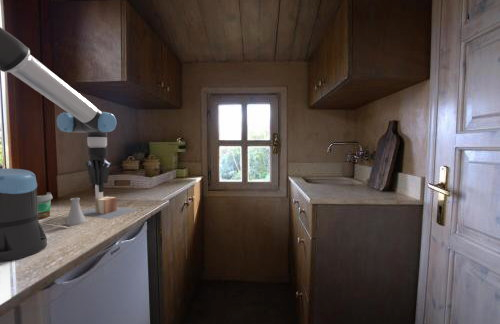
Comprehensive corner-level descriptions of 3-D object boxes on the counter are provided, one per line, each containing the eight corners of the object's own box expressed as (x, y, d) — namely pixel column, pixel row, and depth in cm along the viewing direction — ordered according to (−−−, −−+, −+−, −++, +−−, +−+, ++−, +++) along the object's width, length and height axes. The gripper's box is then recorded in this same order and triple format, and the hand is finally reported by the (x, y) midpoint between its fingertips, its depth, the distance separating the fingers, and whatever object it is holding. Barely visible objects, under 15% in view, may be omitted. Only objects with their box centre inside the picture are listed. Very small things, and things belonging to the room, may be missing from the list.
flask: (68, 228, 93) (67, 201, 92) (61, 224, 98) (60, 198, 97) (90, 223, 99) (89, 198, 98) (83, 220, 103) (82, 195, 103)
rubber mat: (109, 220, 103) (109, 218, 103) (71, 214, 110) (71, 213, 110) (139, 210, 118) (139, 209, 118) (104, 206, 125) (104, 205, 125)
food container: (31, 224, 97) (29, 198, 96) (18, 223, 98) (16, 198, 98) (61, 215, 109) (60, 192, 108) (49, 214, 110) (48, 192, 110)
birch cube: (95, 212, 112) (105, 213, 110) (94, 199, 112) (105, 200, 110) (107, 209, 118) (117, 210, 116) (106, 196, 118) (116, 197, 116)
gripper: (115, 146, 115) (117, 198, 116) (94, 146, 119) (96, 196, 121) (101, 147, 108) (102, 202, 109) (79, 146, 112) (81, 199, 114)
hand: (99, 199), depth 115 cm, fingers closed
